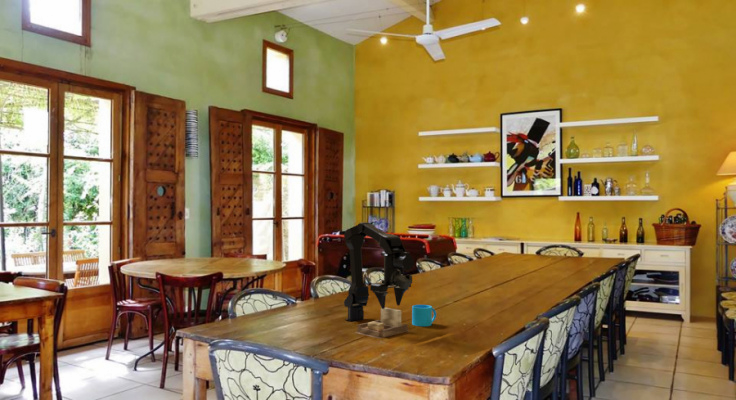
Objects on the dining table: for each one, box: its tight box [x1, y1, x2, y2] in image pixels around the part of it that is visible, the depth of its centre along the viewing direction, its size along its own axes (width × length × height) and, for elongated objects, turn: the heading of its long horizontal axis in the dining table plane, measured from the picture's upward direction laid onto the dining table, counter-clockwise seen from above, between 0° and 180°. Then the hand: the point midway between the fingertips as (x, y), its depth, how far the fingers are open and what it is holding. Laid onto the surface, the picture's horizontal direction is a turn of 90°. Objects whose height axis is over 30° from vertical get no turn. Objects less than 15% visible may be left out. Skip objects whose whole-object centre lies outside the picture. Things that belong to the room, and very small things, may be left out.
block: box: [380, 306, 402, 327], centre depth 213 cm, size 9×2×8 cm, turn 47°
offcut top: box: [367, 320, 384, 330], centre depth 206 cm, size 5×4×2 cm
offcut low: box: [365, 327, 384, 335], centre depth 206 cm, size 7×4×2 cm, turn 47°
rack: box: [354, 319, 410, 339], centre depth 209 cm, size 14×18×3 cm
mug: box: [411, 304, 437, 327], centre depth 224 cm, size 12×8×8 cm
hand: (390, 307), depth 213 cm, fingers open, 9 cm apart
